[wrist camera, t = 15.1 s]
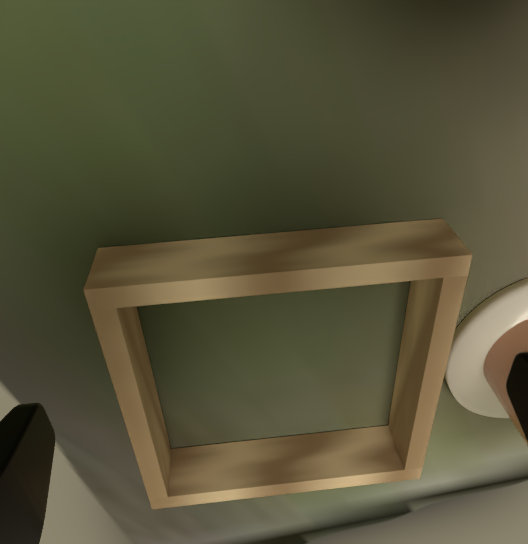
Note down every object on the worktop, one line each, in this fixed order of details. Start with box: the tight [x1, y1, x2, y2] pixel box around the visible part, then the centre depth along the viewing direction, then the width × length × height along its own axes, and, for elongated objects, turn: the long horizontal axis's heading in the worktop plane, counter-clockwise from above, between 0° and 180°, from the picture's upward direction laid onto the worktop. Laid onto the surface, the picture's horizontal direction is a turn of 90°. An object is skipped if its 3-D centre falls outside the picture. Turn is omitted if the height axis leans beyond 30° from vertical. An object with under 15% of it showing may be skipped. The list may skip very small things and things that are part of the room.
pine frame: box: [83, 218, 473, 509], centre depth 24 cm, size 15×15×3 cm
